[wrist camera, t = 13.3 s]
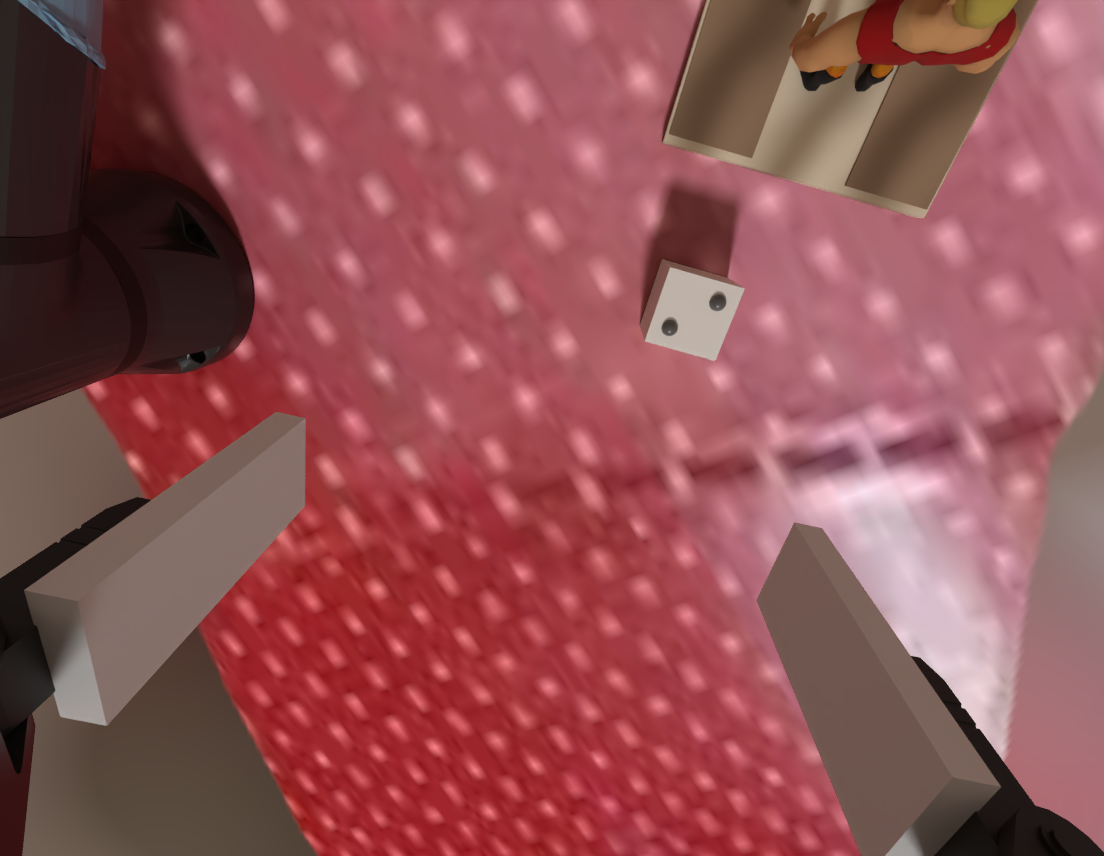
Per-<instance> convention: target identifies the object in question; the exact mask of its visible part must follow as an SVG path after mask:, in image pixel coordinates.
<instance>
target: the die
mask: <svg viewBox="0 0 1104 856" xmlns="http://www.w3.org/2000/svg"><path fill="white" fill-rule="evenodd" d="M744 290H745V288H743V287H742V286H740V285H738V284H737V283H735V282H734V281H732V280H730V279H729V278H727V277H723V276H720V275H716V274H713V273H709V272H706V271H702V270H699V269H695V268H692V267H688V266H685V265H681V264H678V263H674V262H671V261H667V260H664V259H662V260H661V263H660V266H659V269H658V272H657V275H656V278H655V281H654V284H653V287H652V290H651V293H650V296H649V299H648V302H647V305H646V308H645V311H644V314H643V317H642V320H641V323H640V327H641V331H642V334H643V337H644V341H646V342H650V343H653V344H657V345H660V346H664V347H667V348H671V349H674V350H678V351H681V352H685V353H688V354H692V355H696V356H699V357H703V358H706V359H710V360H713V361H715V360H716V358H717V355H718V353H719V350H720V348H721V346H722V343H723V341H724V338H725V336H726V333H727V331H728V328H729V326H730V324H731V321H732V319H733V316H734V314H735V311H736V309H737V307H738V304H739V302H740V299H741V297H742V294H743V292H744Z"/></svg>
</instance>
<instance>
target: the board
mask: <svg viewBox="0 0 1104 856" xmlns="http://www.w3.org/2000/svg"><path fill="white" fill-rule="evenodd" d="M875 1H876V0H706V2H705V5H704V8H703V11H702V14H701V18H700V21H699V24H698V27H697V31H696V34H695V37H694V40H693V44H692V47H691V50H690V53H689V57H688V60H687V63H686V66H685V70H684V73H683V76H682V79H681V82H680V86H679V89H678V92H677V95H676V99H675V102H674V105H673V108H672V112H671V115H670V118H669V121H668V125H667V128H666V131H665V134H664V138H663V141H662V144H666V145H669V146H673V147H676V148H679V149H683V150H686V151H690V152H693V153H697V154H700V155H703V156H707V157H710V158H714V159H717V160H720V161H724V162H727V163H731V164H734V165H738V166H741V167H744V168H748V169H751V170H755V171H758V172H761V173H765V174H768V175H772V176H775V177H778V178H782V179H785V180H789V181H792V182H796V183H799V184H802V185H806V186H809V187H813V188H816V189H819V190H823V191H826V192H830V193H833V194H837V195H840V196H843V197H847V198H850V199H854V200H857V201H860V202H864V203H867V204H871V205H874V206H877V207H881V208H884V209H888V210H891V211H895V212H898V213H901V214H905V215H908V216H912V217H915V218H924V217H925V215H926V214H927V212H928V210H929V208H930V206H931V204H932V202H933V200H934V198H935V196H936V194H937V193H938V191H939V189H940V187H941V185H942V183H943V181H944V179H945V177H946V175H947V173H948V172H949V170H950V168H951V166H952V164H953V162H954V160H955V158H956V156H957V154H958V152H959V150H960V149H961V147H962V145H963V143H964V141H965V139H966V137H967V135H968V133H969V131H970V129H971V128H972V126H973V124H974V122H975V120H976V118H977V116H978V114H979V112H980V110H981V108H982V107H983V105H984V103H985V101H986V99H987V97H988V95H989V93H990V91H991V89H992V87H993V86H994V84H995V82H996V80H997V78H998V76H999V74H1000V72H1001V70H1002V68H1003V66H1004V65H1005V63H1006V61H1007V59H1008V57H1009V55H1010V53H1011V51H1012V49H1013V47H1014V45H1015V44H1016V42H1017V40H1018V38H1019V37H1018V38H1017V40H1016V41H1015V42H1014V44H1013V45H1012V47H1011V48H1010V49H1009V50H1008V51H1007V52H1006V53H1005V54H1004V55H1003V56H1002V57H1001V58H1000V59H998V60H997V61H995V63H994V64H993V65H992V66H991V67H990V68H988V69H987V70H985V71H983V72H980V73H977V74H974V73H967V72H962V71H958V70H957V69H956V68H955V67H954V66H953V65H952V64H945V65H936V66H922V65H920V64H919V63H917V62H915V61H913V62H910V63H908V64H906V65H894V68H893V71H892V72H891V73H890V74H889V75H888V76H887V77H886V79H885V80H884V81H882V82H879V83H877V84H874V85H872V86H871V87H870V88H869V89H867V90H866V91H865V92H856V89H855V84H856V81H857V80H858V78H859V77H860V75H861V74H862V73H863V72H864V70H865V69H866V67H867V65H868V64H859V63H858V62H855V63H853V64H850V65H848V67H847V69H846V71H845V72H844V74H843V75H842V77H841V78H839V79H837V80H835V81H833V82H830V83H828V84H823V85H820V87H819V88H818V89H817V90H816V91H807V90H806V89H805V88H804V86H803V83H802V78H801V74H800V71H799V69H798V67H797V65H796V63H795V61H794V60H793V58H792V56H791V54H792V52H791V51H790V50H789V47H790V44H791V42H792V40H793V38H794V37H795V35H796V34H797V32H798V31H799V30H800V29H801V28H802V27H803V25H804V24H805V22H806V19H807V16H809V15H810V14H811V13H815V15H816V16H815V18H816V17H817V16H818V15H819V14H820V13H822V12H826V13H827V17H826V19H825V20H824V21H823V22H822V23H821V25H820V26H819V29H818V31H817V33H816V35H815V36H814V37H816V36H817V35H818V34H819V33H821V32H822V31H824V30H825V29H827V28H829V27H830V26H832V25H833V24H835V23H836V22H837V21H839V20H840V19H842V18H844V17H846V16H848V15H849V14H851V13H854V12H857V11H860V10H863V9H866V8H869V7H870V6H871V5H872V4H874V2H875ZM1037 1H1038V0H1018V1H1017V2H1016V4H1015V5H1014V7H1013V9H1014V11H1015V13H1016V16H1017V18H1018V24H1019V29H1020V34H1021V32H1022V30H1023V28H1024V26H1025V24H1026V23H1027V21H1028V19H1029V17H1030V15H1031V13H1032V11H1033V9H1034V7H1035V5H1036V3H1037ZM815 18H814V19H813V21H814V20H815ZM1019 36H1020V35H1019Z"/></svg>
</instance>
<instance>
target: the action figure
mask: <svg viewBox="0 0 1104 856" xmlns="http://www.w3.org/2000/svg"><path fill="white" fill-rule="evenodd" d="M1017 1H1018V0H876V1H875V2H874V4H872V5H871V6H870V7H869V8H866V9H863V10H860V11H857V12H854V13H851V14H849V15H848V16H846V17H844V18H842V19H840V20H839V21H837V22H836V23H835V24H833V25H832V26H830V27H829V28H827V29H825V30H824V31H822V32H821V33H819V34H818V35H817V36H816V37H814V36H815V35H816V33H817V31H818V29H819V26H820V25H821V23H822V22H823V21H824V20H825V19H826V17H827V13H826V12H822V13H820V14H819V15H818V16H817V17H816V18H815V16H816V15H815V13H811V14H810V15H809V16H807V19H806V22H805V24H804V25H803V27H802V28H801V29H800V30H799V31H798V32H797V34H796V35H795V37H794V38H793V40H792V42H791V44H790V47H789V50H790V51H791V52H792V54H791V56H792V58H793V60H794V61H795V63H796V65H797V67H798V69H799V71H800V74H801V78H802V83H803V86H804V88H805V89H806V90H807V91H816V90H817V89H818V88H819V87H820V85H823V84H828V83H830V82H833V81H835V80H837V79H839V78H841V77H842V75H843V74H844V72H845V71H846V69H847V67H848V65H850V64H853V63H855V62H858V63H859V64H868V65H867V67H866V69H865V70H864V72H863V73H862V74H861V75H860V77H859V78H858V80H857V81H856V84H855V89H856V92H865V91H866V90H867V89H869V88H870V87H871V86H872V85H874V84H877V83H879V82H882V81H884V80H885V79H886V77H887V76H888V75H889V74H890V73H891V72H892V71H893V68H894V65H906V64H908V63H910V62H913V61H915V62H917V63H919V64H920V65H922V66H936V65H945V64H952V65H953V66H954V67H955V68H956V69H957V70H958V71H962V72H967V73H974V74H977V73H980V72H983V71H985V70H987V69H988V68H990V67H991V66H992V65H993V64H994V63H995V61H997V60H998V59H1000V58H1001V57H1002V56H1003V55H1004V54H1005V53H1006V52H1007V51H1008V50H1009V49H1010V48H1011V47H1012V45H1013V44H1014V42H1015V41H1016V40H1017V38H1018V37H1019V35H1020V29H1019V24H1018V18H1017V16H1016V13H1015V11H1014V9H1013V7H1014V5H1015V4H1016V2H1017ZM814 18H815V20H814V21H813V19H814Z"/></svg>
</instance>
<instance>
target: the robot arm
mask: <svg viewBox="0 0 1104 856" xmlns="http://www.w3.org/2000/svg"><path fill="white" fill-rule="evenodd" d="M103 4H104V0H0V419H1V418H4V417H6V416H9V415H12V414H14V413H17V412H19V411H22V410H24V409H27V408H29V407H32V406H35V405H37V404H40V403H43V402H45V401H48V400H51V399H53V398H56V397H58V396H61V395H64V394H66V393H68V392H71V391H74V390H77V389H79V388H82V387H84V386H87V385H90V384H92V383H95V382H97V381H100V380H102V379H105V378H108V377H111V376H113V375H116V374H179V373H186V372H190V371H195V370H198V369H200V368H203V367H205V366H208V365H210V364H212V363H215V362H217V361H219V360H221V359H223V358H225V357H226V356H228V355H229V354H230V353H232V352H233V351H234V350H235V349H236V348H237V347H238V346H239V344H240V343H241V342H242V340H243V339H244V337H245V335H246V333H247V331H248V329H249V326H250V323H251V319H252V315H253V307H254V292H253V284H252V278H251V274H250V270H249V267H248V264H247V261H246V258H245V256H244V253H243V251H242V249H241V247H240V245H239V243H238V241H237V240H236V238H235V236H234V234H233V233H232V231H231V230H230V228H229V227H228V226H227V224H226V223H225V222H224V220H223V219H222V218H221V217H220V216H219V214H218V213H217V212H216V211H215V210H214V209H213V208H212V207H211V206H210V205H209V204H208V203H207V202H206V201H204V200H203V199H202V198H201V197H200V196H198V195H197V194H196V193H194V192H193V191H192V190H190V189H188V188H187V187H185V186H184V185H182V184H180V183H178V182H176V181H174V180H172V179H170V178H168V177H165V176H163V175H160V174H157V173H153V172H149V171H143V170H132V169H115V168H105V169H96V170H90V171H89V167H90V159H91V150H92V142H93V133H94V125H95V116H96V108H97V100H98V91H99V83H100V74H101V68H102V69H106V60H105V57H104V55H103V54H102V52H101V45H102V24H103ZM304 506H305V418H302V417H297V416H292V415H288V414H283V413H278V412H275V413H274V414H273V415H271V416H270V417H268V418H267V419H266V420H264V421H263V422H261V423H260V424H258V425H257V426H256V427H254V428H253V429H251V430H250V431H249V432H247V433H246V434H244V435H243V436H242V437H240V438H239V439H237V440H236V441H234V442H233V443H232V444H230V445H229V446H227V447H226V448H225V449H223V450H222V451H220V452H219V453H217V454H216V455H215V456H213V457H212V458H210V459H209V460H208V461H206V462H205V463H203V464H202V465H200V466H199V467H198V468H196V469H195V470H193V471H192V472H191V473H189V474H188V475H186V476H185V477H183V478H182V479H181V480H179V481H178V482H176V483H175V484H174V485H172V486H171V487H169V488H168V489H167V490H165V491H164V492H162V493H161V494H159V495H158V496H157V497H155V498H154V499H152V500H149V499H144V498H139V497H137V498H134V499H131V500H128V501H126V502H123V503H121V504H118V505H115V506H112V507H110V508H107V509H105V510H104V511H103V512H101V513H99V514H98V515H96V516H95V517H93V518H91V519H90V520H89V521H87V522H85V523H84V524H83V525H81V528H80V529H75V530H73V531H72V532H70V533H69V534H67V535H66V536H65V537H63V538H61V541H60V542H59V543H57V542H55V543H54V544H52V545H50V546H49V547H47V548H46V549H45V550H43V551H41V552H40V553H38V554H37V555H35V556H34V557H32V558H31V559H29V560H28V561H26V562H25V563H23V564H22V565H20V566H19V567H17V568H16V569H14V570H13V571H11V572H9V573H8V574H7V575H5V576H4V577H2V578H1V579H0V856H22V851H23V841H24V832H25V822H26V812H27V801H28V792H29V782H30V773H31V763H32V754H33V753H32V752H33V744H34V733H35V723H34V719H33V715H32V712H33V711H34V710H35V709H37V708H38V707H39V706H40V705H41V704H42V703H43V702H44V701H45V700H46V699H47V698H48V697H50V696H51V695H52V694H53V693H54V696H55V700H56V703H57V707H58V710H59V714H60V717H64V718H69V719H75V720H80V721H85V722H90V723H95V724H100V725H106V726H107V725H108V724H109V723H110V722H111V721H112V719H113V718H114V717H115V716H116V715H117V714H118V713H119V712H120V711H121V709H122V708H123V707H124V706H125V705H126V704H127V703H128V702H129V701H130V699H131V698H132V697H133V696H134V695H135V694H136V693H137V692H138V691H139V689H140V688H141V687H142V686H143V685H144V684H145V683H146V682H147V681H148V680H149V678H150V677H151V676H152V675H153V674H154V673H155V672H156V671H157V670H158V668H159V667H160V666H161V665H162V664H163V663H164V662H165V661H166V660H167V658H168V657H169V656H170V655H171V654H172V653H173V652H174V651H175V650H176V648H177V647H178V646H179V645H180V644H181V643H182V642H183V641H184V640H185V638H186V637H187V636H188V635H189V634H190V633H191V632H192V631H193V630H194V628H195V627H196V626H197V625H198V624H199V623H200V622H201V621H202V620H203V618H204V617H205V616H206V615H207V614H208V613H209V612H210V611H211V610H212V609H213V607H214V606H215V605H216V604H217V603H218V602H219V601H220V600H221V599H222V597H223V596H224V595H225V594H226V593H227V592H228V591H229V590H230V589H231V587H232V586H233V585H234V584H235V583H236V582H237V581H238V580H239V579H240V577H241V576H242V575H243V574H244V573H245V572H246V571H247V570H248V569H249V567H250V566H251V565H252V564H253V563H254V562H255V561H256V560H257V559H258V557H259V556H260V555H261V554H262V553H263V552H264V551H265V550H266V549H267V547H268V546H269V545H270V544H271V543H272V542H273V541H274V540H275V539H276V538H277V536H278V535H279V534H280V533H281V532H282V531H283V530H284V529H285V528H286V526H287V525H288V524H289V523H290V522H291V521H292V520H293V519H294V518H295V516H296V515H297V514H298V513H299V512H300V511H301V510H302V509H303V508H304ZM757 603H758V605H759V608H760V610H761V612H762V615H763V617H764V620H765V622H766V625H767V627H768V629H769V632H770V634H771V637H772V639H773V642H774V644H775V647H776V649H777V651H778V654H779V656H780V659H781V661H782V664H783V666H784V668H785V671H786V673H787V676H788V678H789V681H790V683H791V686H792V688H793V690H794V693H795V695H796V698H797V700H798V703H799V705H800V707H801V710H802V712H803V715H804V717H805V720H806V722H807V725H808V727H809V729H810V732H811V734H812V737H813V739H814V742H815V744H816V746H817V749H818V751H819V754H820V756H821V759H822V761H823V764H824V766H825V768H826V771H827V773H828V776H829V778H830V781H831V783H832V785H833V788H834V790H835V793H836V795H837V798H838V800H839V803H840V805H841V807H842V810H843V812H844V815H845V817H846V820H847V822H848V824H849V827H850V829H851V832H852V834H853V837H854V839H855V842H856V844H857V846H858V849H859V851H860V854H861V856H1104V852H1103V851H1102V850H1101V849H1100V848H1099V847H1098V846H1097V845H1096V844H1095V843H1094V842H1093V841H1092V840H1091V839H1090V838H1089V837H1088V836H1087V835H1086V834H1084V833H1083V832H1082V831H1080V830H1079V829H1078V828H1077V827H1075V826H1074V825H1073V824H1072V823H1070V822H1069V821H1068V820H1066V819H1064V818H1062V817H1061V816H1059V815H1057V814H1055V813H1053V812H1052V811H1050V810H1048V809H1044V808H1041V807H1038V806H1035V805H1034V803H1033V802H1032V800H1031V799H1030V798H1029V796H1028V795H1027V794H1026V792H1025V791H1024V789H1023V788H1022V787H1021V785H1020V784H1019V783H1018V781H1017V780H1016V778H1015V777H1014V776H1013V774H1012V773H1011V772H1010V770H1009V769H1008V767H1007V766H1006V765H1005V763H1004V762H1003V761H1002V759H1001V758H1000V756H999V755H998V754H997V752H996V751H995V750H994V748H993V747H992V745H991V744H990V743H989V741H988V740H987V739H986V737H985V736H984V734H983V733H982V732H981V730H980V729H976V723H975V722H974V721H973V719H972V718H971V716H970V715H969V714H968V712H967V711H966V710H965V709H963V708H961V703H960V701H959V700H958V699H957V697H956V696H955V694H954V693H953V692H952V690H951V689H950V688H949V686H948V685H947V683H946V682H945V681H944V680H943V679H942V678H941V677H940V676H939V675H938V674H937V673H936V672H935V671H934V670H933V669H932V668H930V667H929V666H928V665H927V664H926V663H925V662H924V661H923V660H922V659H921V658H918V657H914V656H910V655H909V653H908V652H907V650H906V649H905V647H904V646H903V644H902V643H901V642H900V640H899V639H898V637H897V636H896V634H895V633H894V631H893V630H892V629H891V627H890V626H889V624H888V623H887V621H886V620H885V618H884V617H883V616H882V614H881V613H880V611H879V610H878V608H877V607H876V605H875V604H874V603H873V601H872V600H871V598H870V597H869V595H868V594H867V592H866V591H865V590H864V588H863V587H862V585H861V584H860V582H859V581H858V579H857V578H856V577H855V575H854V574H853V572H852V571H851V569H850V568H849V566H848V565H847V564H846V562H845V561H844V559H843V558H842V556H841V555H840V553H839V552H838V551H837V549H836V548H835V546H834V545H833V543H832V542H831V540H830V539H829V538H828V536H827V535H826V533H825V532H824V530H823V529H822V528H818V527H813V526H808V525H804V524H799V523H794V524H793V526H792V528H791V531H790V533H789V535H788V537H787V539H786V541H785V543H784V545H783V547H782V549H781V551H780V553H779V555H778V557H777V559H776V561H775V563H774V565H773V567H772V570H771V572H770V574H769V576H768V578H767V580H766V582H765V584H764V586H763V588H762V590H761V592H760V594H759V596H758V598H757Z"/></svg>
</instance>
